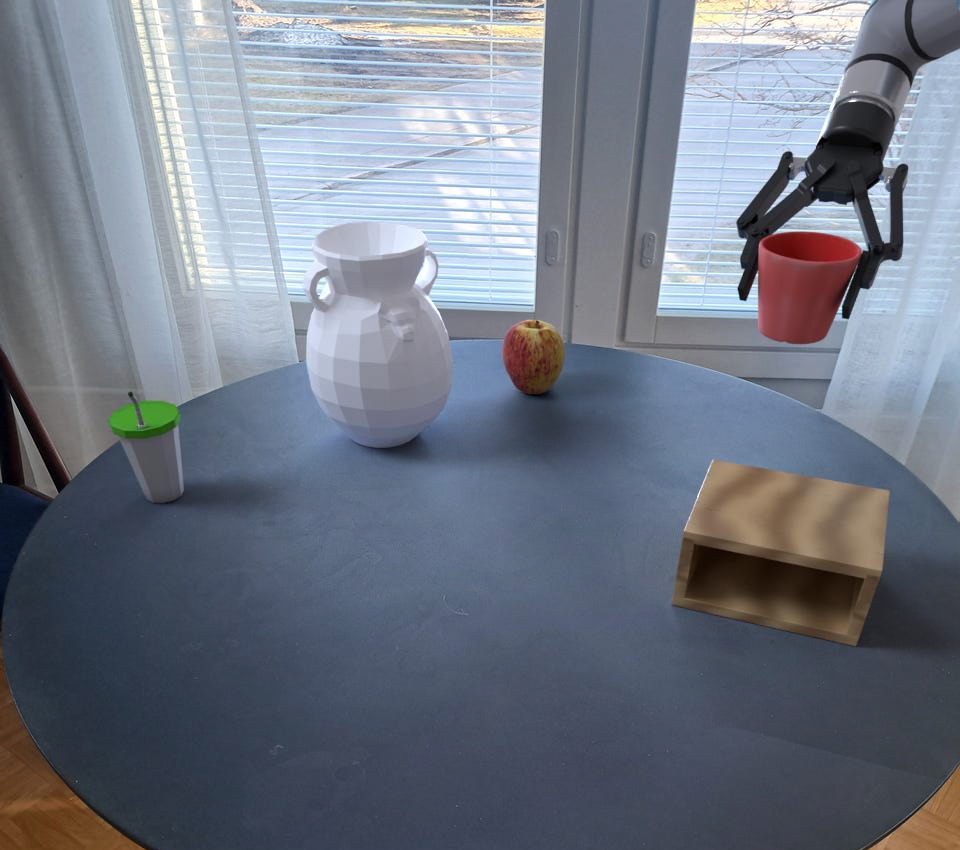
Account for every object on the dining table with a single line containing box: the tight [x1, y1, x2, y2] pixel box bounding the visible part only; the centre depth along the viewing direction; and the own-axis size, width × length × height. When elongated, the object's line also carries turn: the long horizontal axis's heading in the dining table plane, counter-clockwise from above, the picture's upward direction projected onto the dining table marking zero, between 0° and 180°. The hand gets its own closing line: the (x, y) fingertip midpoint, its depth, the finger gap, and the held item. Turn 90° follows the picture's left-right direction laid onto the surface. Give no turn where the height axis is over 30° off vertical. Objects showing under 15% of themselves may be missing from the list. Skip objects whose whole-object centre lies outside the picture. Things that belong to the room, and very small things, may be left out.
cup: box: [107, 391, 185, 504], centre depth 104 cm, size 8×8×15 cm
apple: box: [501, 319, 566, 395], centre depth 128 cm, size 9×9×10 cm
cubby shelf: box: [671, 459, 891, 647], centre depth 92 cm, size 18×15×9 cm
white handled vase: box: [302, 221, 454, 449], centre depth 113 cm, size 19×18×25 cm
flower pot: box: [757, 230, 863, 345], centre depth 102 cm, size 11×11×10 cm
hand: (792, 303), depth 100 cm, fingers closed on flower pot, 11 cm apart
